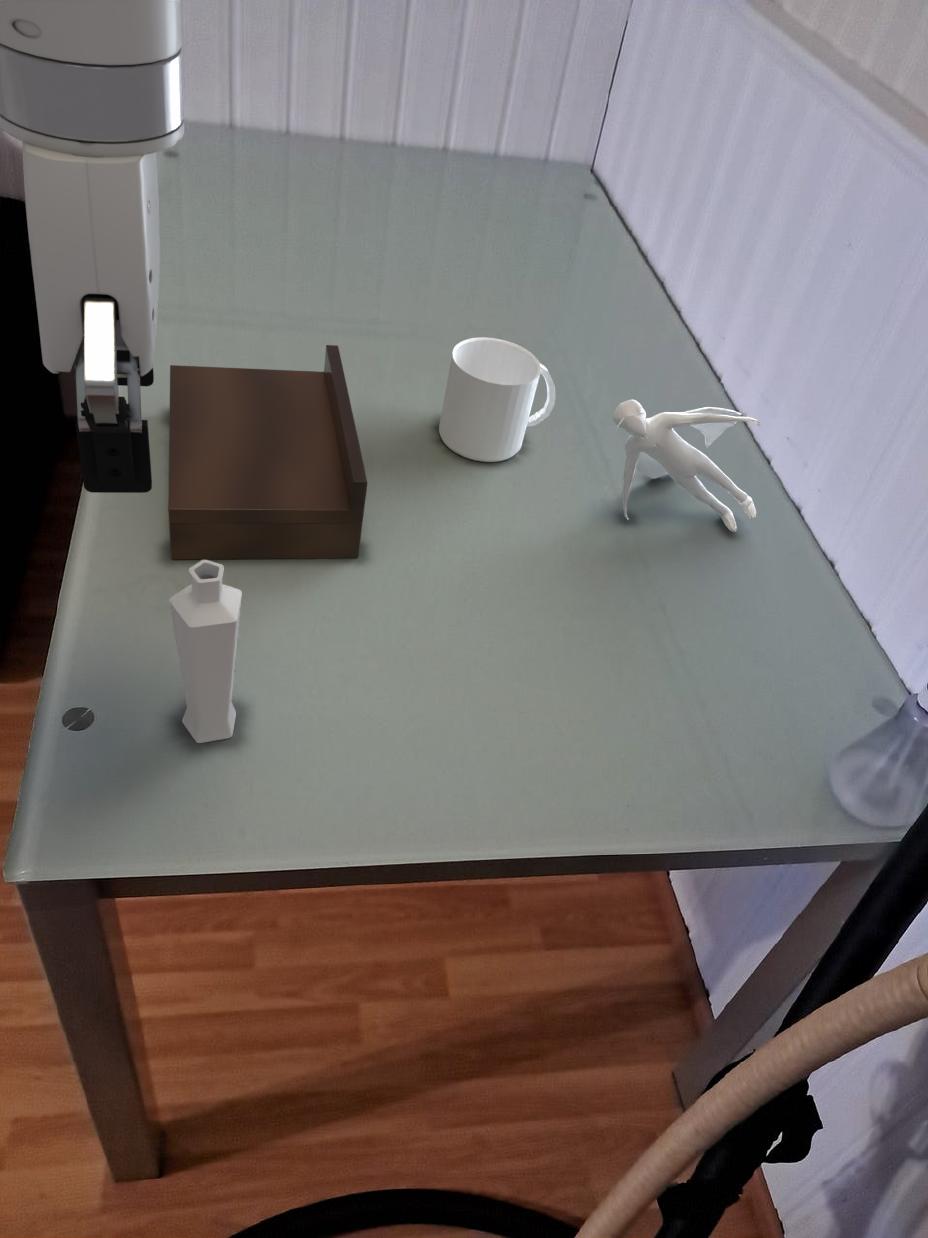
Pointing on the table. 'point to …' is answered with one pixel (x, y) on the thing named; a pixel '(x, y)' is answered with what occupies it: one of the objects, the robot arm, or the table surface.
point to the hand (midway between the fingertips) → (121, 432)
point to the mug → (491, 398)
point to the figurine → (679, 452)
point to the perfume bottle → (207, 650)
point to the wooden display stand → (264, 464)
